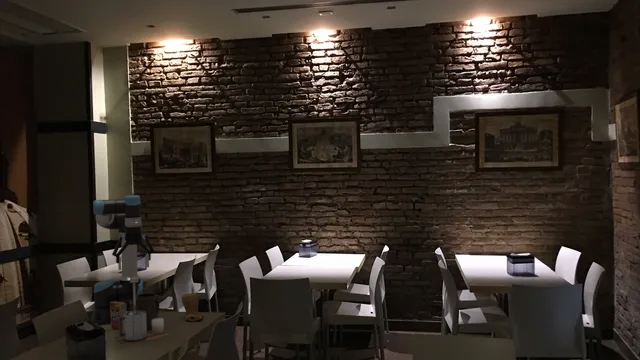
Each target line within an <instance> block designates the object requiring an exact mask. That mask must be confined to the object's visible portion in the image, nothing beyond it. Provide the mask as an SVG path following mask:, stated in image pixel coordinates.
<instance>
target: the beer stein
mask: <svg viewBox="0 0 640 360" xmlns="http://www.w3.org/2000/svg"><path fill="white" fill-rule="evenodd" d="M136 310H141V311H145V312H146V327H147V332H150V331H152V319H155V318H159V317H158V316H159V311H160V301H159V294H156V293H142V294H140V295H138V296H137V300H136Z"/></svg>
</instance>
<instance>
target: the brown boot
mask: <svg viewBox="0 0 640 360" xmlns="http://www.w3.org/2000/svg"><path fill="white" fill-rule="evenodd" d="M199 301H200V300H199V295H198V293H197V292H191V293H186V294H183V295H181V303H182V305H183V307H184V310H185V316H184V320H185V321H189V322H197V321H200V320H201V319H202V318H203V312H199Z"/></svg>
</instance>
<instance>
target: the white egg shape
mask: <svg viewBox="0 0 640 360" xmlns="http://www.w3.org/2000/svg"><path fill="white" fill-rule="evenodd" d="M164 322H165V320H164V318H163V317H158V318H155V319H152V330H151V331H152V334H162V333H164V332H165V331H164V329H165V328H164V327H165V326H164V325H165V323H164Z"/></svg>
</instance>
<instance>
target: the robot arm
mask: <svg viewBox="0 0 640 360" xmlns="http://www.w3.org/2000/svg"><path fill="white" fill-rule="evenodd" d="M92 205H93V209H92V211H93V215H95V222H96V223H97V224H98V226H100V227H101V228H104V229H106V230H114V231H115V230H118V234H120V236H118V239H117V240H118V241H117V243H116V244H115V247H114V249H113V251H112V252H111V253H112V254H111V256H113V257H115V263H116V264H118V265H117V269H118V271H121V276H120V277H119V279H118V281H116V280H115V279H106V280H101V281H98V282H96V283H95V284H94V285H93V294H94V295H93V297H94V298H93V299H94V301H93V303H94V305H93V307H94V309H93V313H92V316H91V320H90V321H91V322H94V323H97V324H99V325H100V326H101V325H109V324H110V325H111V311H110V302H114V301H118V302H123V303H125V302H133V283H130V277H138V282H136V283H135V298H136V301H137V296H138V295H140V294H143V290H144V289H143V287H144V281H143V279H141V276H139V274H138V245H139V247H141V248H142V249H143V250H144V252H146V253H145V268H150V261H151V260H152V259H151V258H152V254H153V253H155V249H154V248H153V246H152V244H151V242H150V240H149V237H148V234H143V235H142V228H143V222H142V216H141V196H140V195H134V194H133V195H125V196H124V198H122V199H121V198H120V199H119V198H118V199H96V200H93V204H92ZM142 239H143V241H144V242H145V244H146V246H147V247H148V248H147V247H146V246H145V244H143V242H142V241H141V240H142ZM120 246H121V248H120ZM97 324H96V325H97ZM99 325H98V326H99Z"/></svg>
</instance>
